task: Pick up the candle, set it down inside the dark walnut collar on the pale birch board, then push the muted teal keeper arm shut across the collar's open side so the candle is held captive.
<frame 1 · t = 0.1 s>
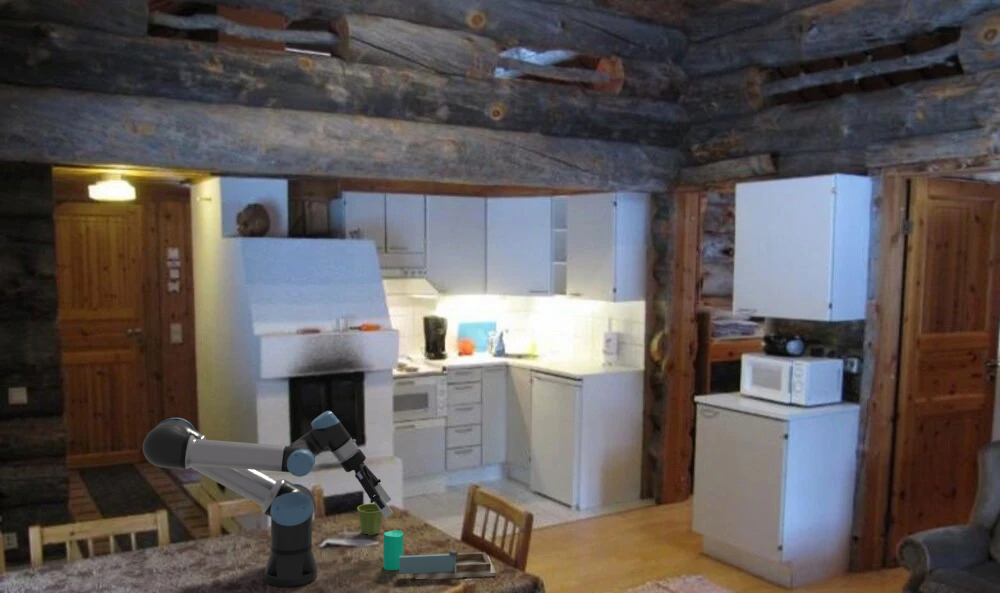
hand: (388, 508, 257), 15 cm above the table, tool tilted 35°, fingers open, 13 cm apart
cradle: (466, 568, 249), on the table
plant pot: (370, 533, 279), on the table
keeper: (428, 562, 242), point 4 cm above the table, hinge at 90.0°
candle: (393, 567, 249), on the table
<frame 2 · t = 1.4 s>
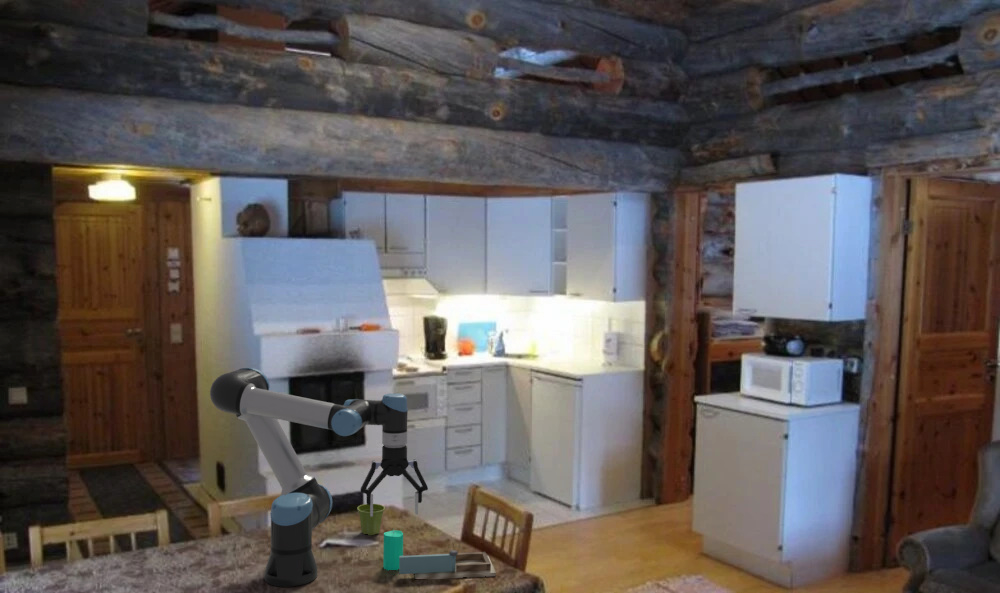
hand: (394, 514, 248), 16 cm above the table, tool pointing down, fingers open, 13 cm apart
nothing on the table moved.
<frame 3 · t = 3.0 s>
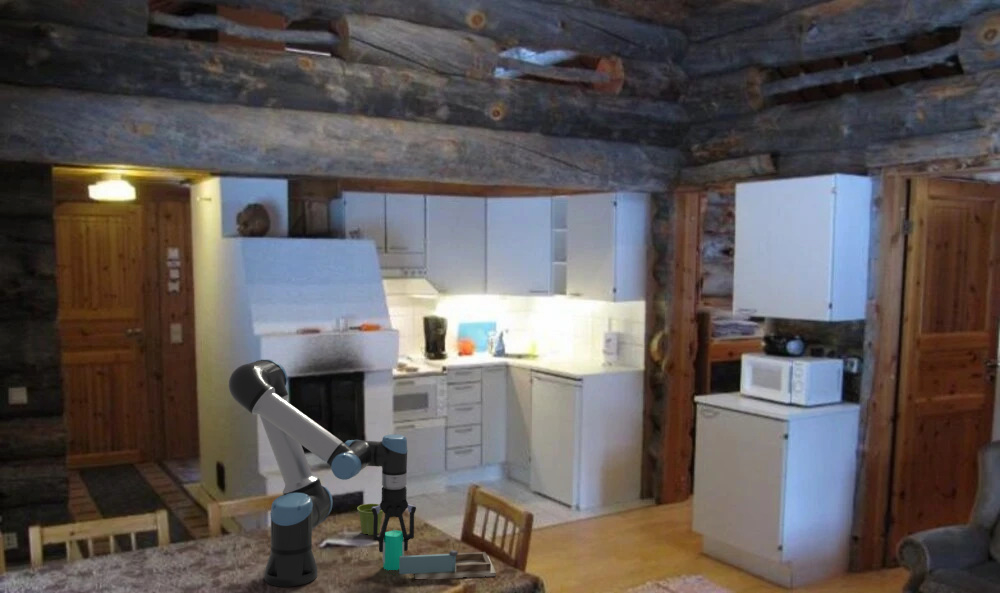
hand: (393, 561, 249), 2 cm above the table, tool pointing down, fingers closed on candle, 5 cm apart
candle: (393, 567, 249), on the table, touching gripper
everything else where it was.
when the fingers open (3 cm above the table, at t = 8.1 s): candle stays where it is, resting on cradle.
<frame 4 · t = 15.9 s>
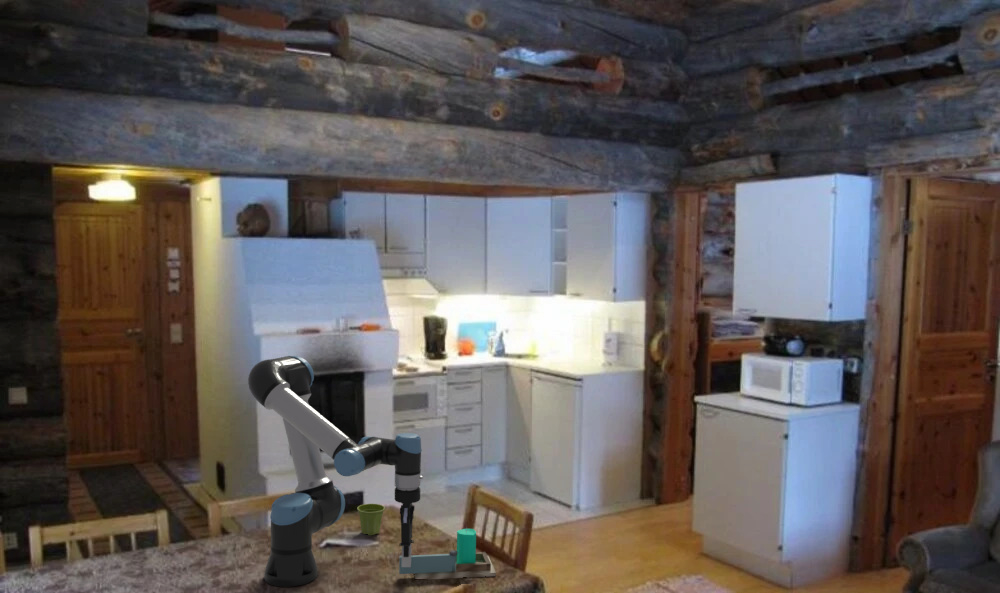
hand: (406, 566, 240), 4 cm above the table, tool pointing down, fingers closed
keeper: (428, 562, 242), point 4 cm above the table, hinge at 89.8°, touching gripper
candle: (466, 565, 249), point 1 cm above the table, touching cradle
everything else where it was.
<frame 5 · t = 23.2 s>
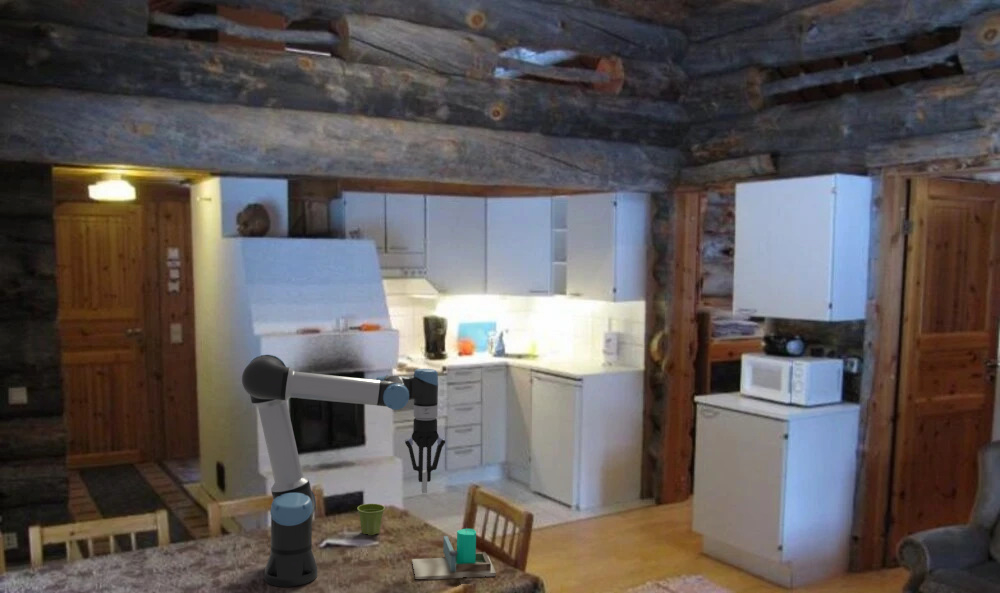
hand: (424, 491, 259), 20 cm above the table, tool pointing down, fingers closed
keeper: (449, 552, 251), point 4 cm above the table, hinge at 2.0°
everything else where it was.
at the end: candle 0.6 cm off-centre on the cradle, point 0.8 cm above the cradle's base; candle tilted 0°; keeper at +2° (first picture: +90°) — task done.
